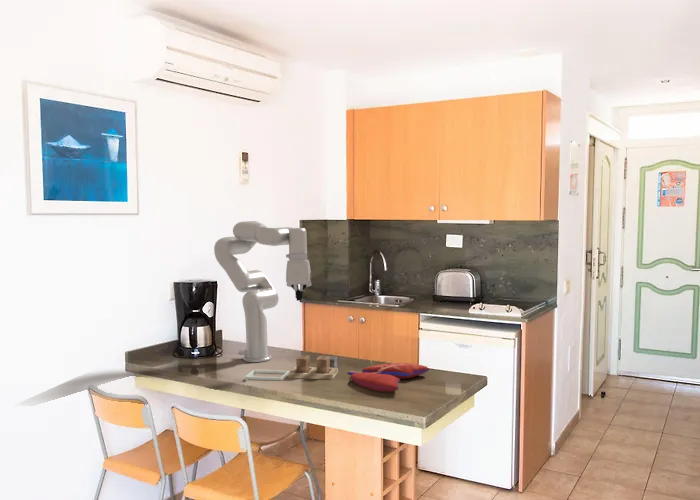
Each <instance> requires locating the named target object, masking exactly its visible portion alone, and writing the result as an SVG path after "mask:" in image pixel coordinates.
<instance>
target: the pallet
mask: <svg viewBox="0 0 700 500" xmlns="http://www.w3.org/2000/svg"><path fill="white" fill-rule="evenodd" d="M338 373H339V368H338V367H337V368H330V372H329V373H328V374H322V373H317V366H312V367H311V366H310V371H309V372H308V373H297V368H296V366H294V367H293V368H292V370H289V373H288V375H287V377H288V379H312V380H313V379H314V380H316V379H317V380H333V379H334V378H335V376H336V375H337V374H338Z"/></svg>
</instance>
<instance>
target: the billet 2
mask: <svg viewBox="0 0 700 500" xmlns="http://www.w3.org/2000/svg"><path fill="white" fill-rule="evenodd" d="M316 359H317V360H316V367H317V373H322V374H328V373H329V372H330V355H319V356H318V357H317V358H316Z"/></svg>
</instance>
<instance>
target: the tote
mask: <svg viewBox="0 0 700 500" xmlns="http://www.w3.org/2000/svg"><path fill="white" fill-rule="evenodd" d="M289 372H290V370H278V369H277V370H275V369H273V370H272V369H270V370H269V369H252V371H250V372H249V373H248V374H246V375H245V376H244V381H245V382H247V381H249V380H254V381H255V380H259V381H261V380H262V381H266V380H267V381H283V380H284V379H286V377H288V373H289ZM259 373H260V374H283V375H282V376H280V377H279V376H278V377H277V376H255V375H256V374H259Z"/></svg>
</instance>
